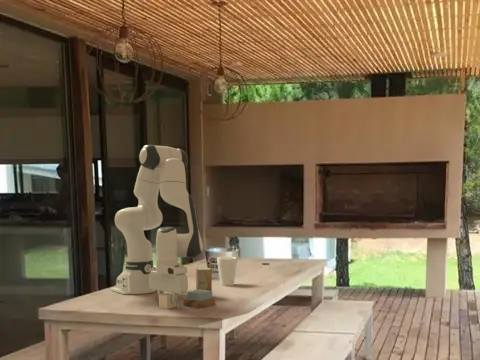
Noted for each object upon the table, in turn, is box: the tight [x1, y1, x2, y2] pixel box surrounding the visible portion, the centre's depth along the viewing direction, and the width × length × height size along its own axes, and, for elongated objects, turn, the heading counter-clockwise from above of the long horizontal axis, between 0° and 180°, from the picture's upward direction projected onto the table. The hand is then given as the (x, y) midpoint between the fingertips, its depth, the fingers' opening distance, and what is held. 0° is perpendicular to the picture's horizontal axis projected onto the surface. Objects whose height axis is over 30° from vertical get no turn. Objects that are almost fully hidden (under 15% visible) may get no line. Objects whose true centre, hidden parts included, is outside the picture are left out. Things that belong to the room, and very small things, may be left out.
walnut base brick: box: [183, 297, 216, 309], centre depth 226 cm, size 9×9×3 cm
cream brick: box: [158, 292, 178, 310], centre depth 224 cm, size 5×5×5 cm
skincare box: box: [195, 267, 213, 292], centre depth 243 cm, size 6×4×12 cm
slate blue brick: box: [187, 289, 213, 301], centre depth 226 cm, size 7×7×3 cm
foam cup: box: [216, 256, 238, 287], centre depth 272 cm, size 10×9×13 cm
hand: (168, 302), depth 224 cm, fingers open, 5 cm apart
